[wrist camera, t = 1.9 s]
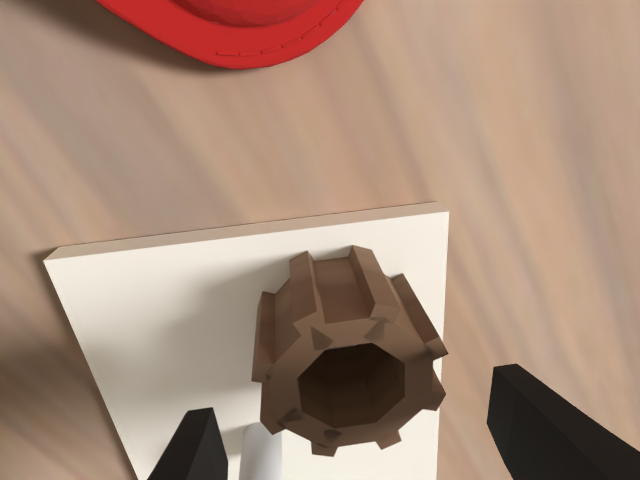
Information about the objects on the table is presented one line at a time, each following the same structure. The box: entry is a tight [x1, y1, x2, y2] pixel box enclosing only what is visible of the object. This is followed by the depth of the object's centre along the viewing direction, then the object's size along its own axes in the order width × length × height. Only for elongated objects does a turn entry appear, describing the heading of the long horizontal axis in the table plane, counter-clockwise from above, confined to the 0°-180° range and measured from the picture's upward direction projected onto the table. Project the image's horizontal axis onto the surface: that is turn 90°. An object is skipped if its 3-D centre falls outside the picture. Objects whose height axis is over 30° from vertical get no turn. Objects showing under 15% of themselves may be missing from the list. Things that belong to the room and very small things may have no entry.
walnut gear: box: [251, 245, 448, 457], centre depth 13 cm, size 5×6×4 cm
